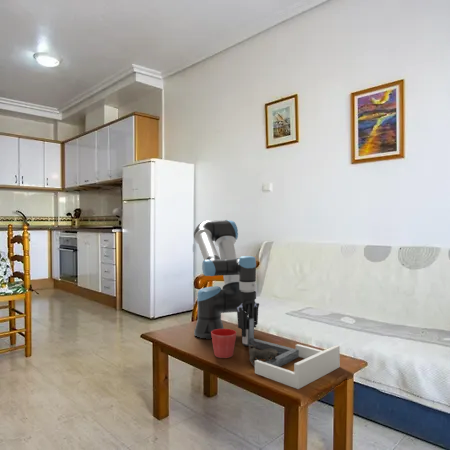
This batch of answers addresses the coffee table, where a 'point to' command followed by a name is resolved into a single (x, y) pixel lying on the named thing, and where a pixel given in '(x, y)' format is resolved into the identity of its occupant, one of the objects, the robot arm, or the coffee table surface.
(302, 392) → the coffee table surface
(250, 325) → the crook
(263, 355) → the dog figurine
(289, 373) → the low cubby
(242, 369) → the coffee table surface
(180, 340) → the coffee table surface
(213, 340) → the flower pot
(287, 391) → the coffee table surface
